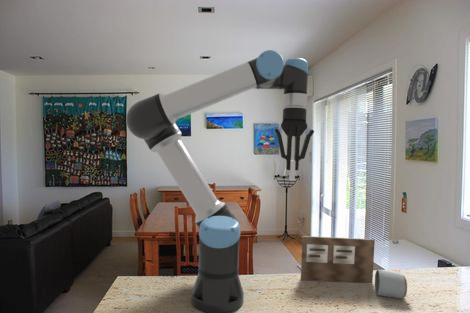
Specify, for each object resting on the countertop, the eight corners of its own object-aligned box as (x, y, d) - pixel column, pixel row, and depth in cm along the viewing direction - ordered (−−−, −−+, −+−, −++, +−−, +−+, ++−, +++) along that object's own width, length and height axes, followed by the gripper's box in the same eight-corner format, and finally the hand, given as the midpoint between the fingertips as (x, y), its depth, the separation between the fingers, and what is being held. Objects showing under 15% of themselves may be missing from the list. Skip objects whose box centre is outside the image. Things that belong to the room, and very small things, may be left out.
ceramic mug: (407, 303, 94) (409, 277, 94) (378, 299, 96) (379, 274, 96) (398, 288, 104) (399, 265, 104) (371, 285, 106) (372, 262, 106)
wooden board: (301, 280, 108) (303, 236, 107) (300, 279, 109) (302, 236, 108) (372, 284, 107) (375, 240, 106) (371, 282, 108) (373, 239, 107)
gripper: (312, 110, 106) (309, 179, 107) (273, 108, 107) (271, 178, 108) (317, 107, 99) (314, 182, 100) (275, 106, 99) (272, 180, 100)
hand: (291, 180), depth 104 cm, fingers closed
